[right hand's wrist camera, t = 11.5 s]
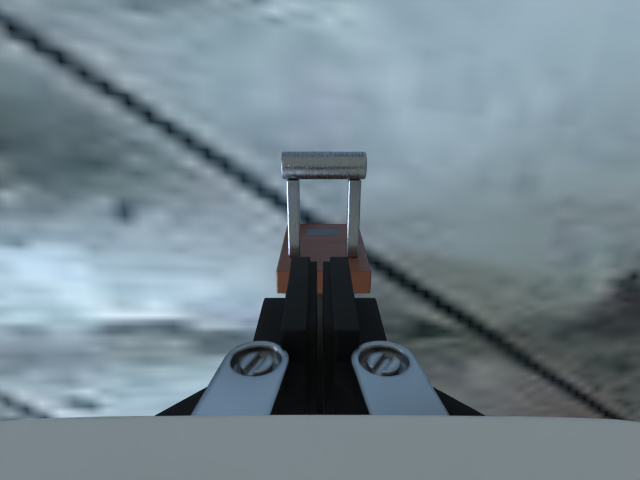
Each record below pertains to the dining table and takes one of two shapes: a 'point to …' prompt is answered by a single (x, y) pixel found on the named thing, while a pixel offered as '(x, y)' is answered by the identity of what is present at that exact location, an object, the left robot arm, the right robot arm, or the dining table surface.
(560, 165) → the dining table surface
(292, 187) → the drawer
